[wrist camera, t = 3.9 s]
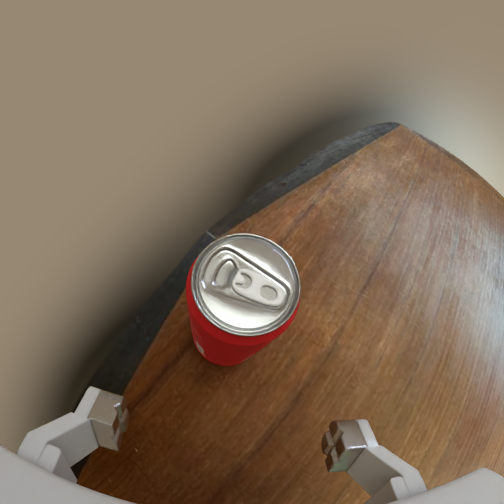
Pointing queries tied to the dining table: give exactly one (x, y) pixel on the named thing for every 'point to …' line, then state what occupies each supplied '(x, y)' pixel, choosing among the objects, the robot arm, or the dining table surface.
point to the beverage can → (240, 297)
